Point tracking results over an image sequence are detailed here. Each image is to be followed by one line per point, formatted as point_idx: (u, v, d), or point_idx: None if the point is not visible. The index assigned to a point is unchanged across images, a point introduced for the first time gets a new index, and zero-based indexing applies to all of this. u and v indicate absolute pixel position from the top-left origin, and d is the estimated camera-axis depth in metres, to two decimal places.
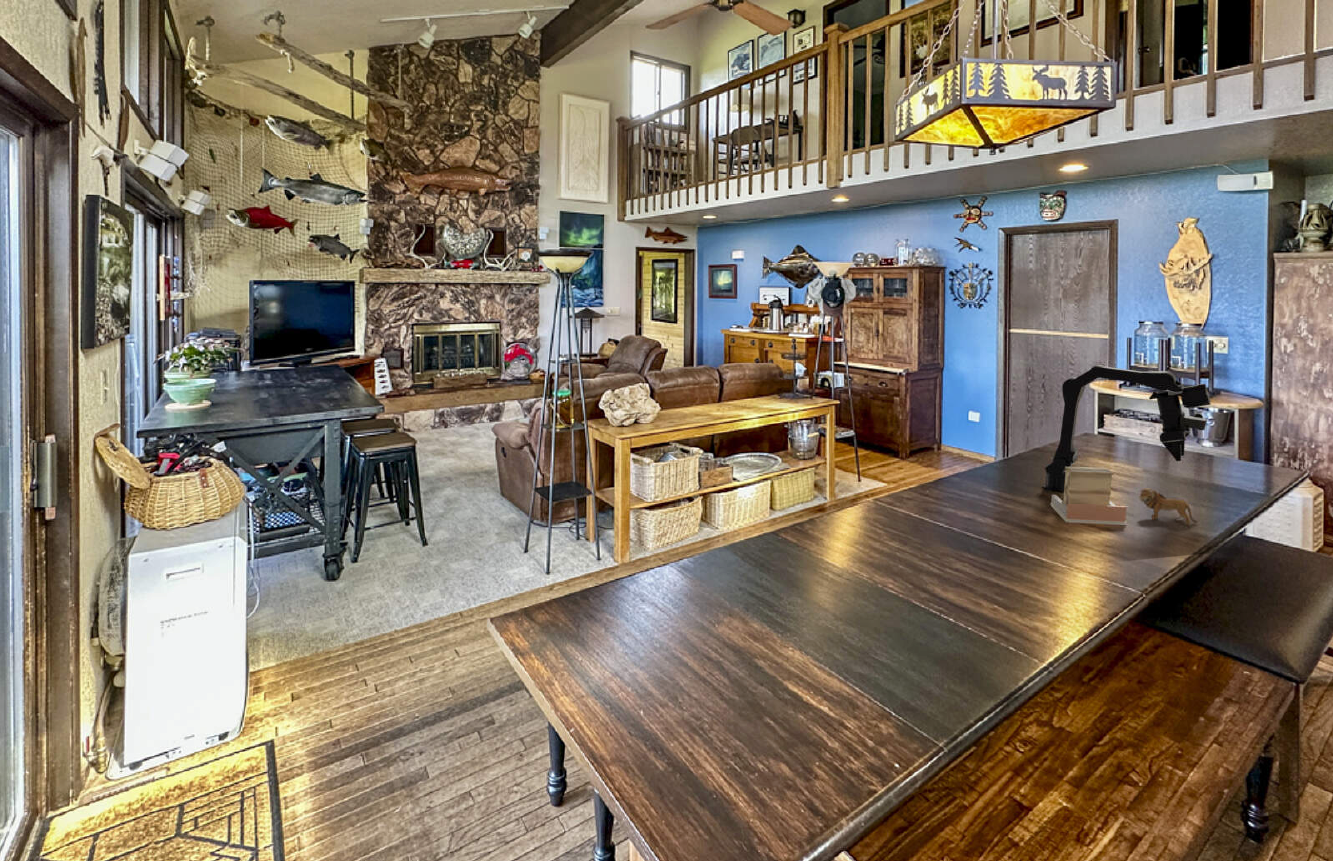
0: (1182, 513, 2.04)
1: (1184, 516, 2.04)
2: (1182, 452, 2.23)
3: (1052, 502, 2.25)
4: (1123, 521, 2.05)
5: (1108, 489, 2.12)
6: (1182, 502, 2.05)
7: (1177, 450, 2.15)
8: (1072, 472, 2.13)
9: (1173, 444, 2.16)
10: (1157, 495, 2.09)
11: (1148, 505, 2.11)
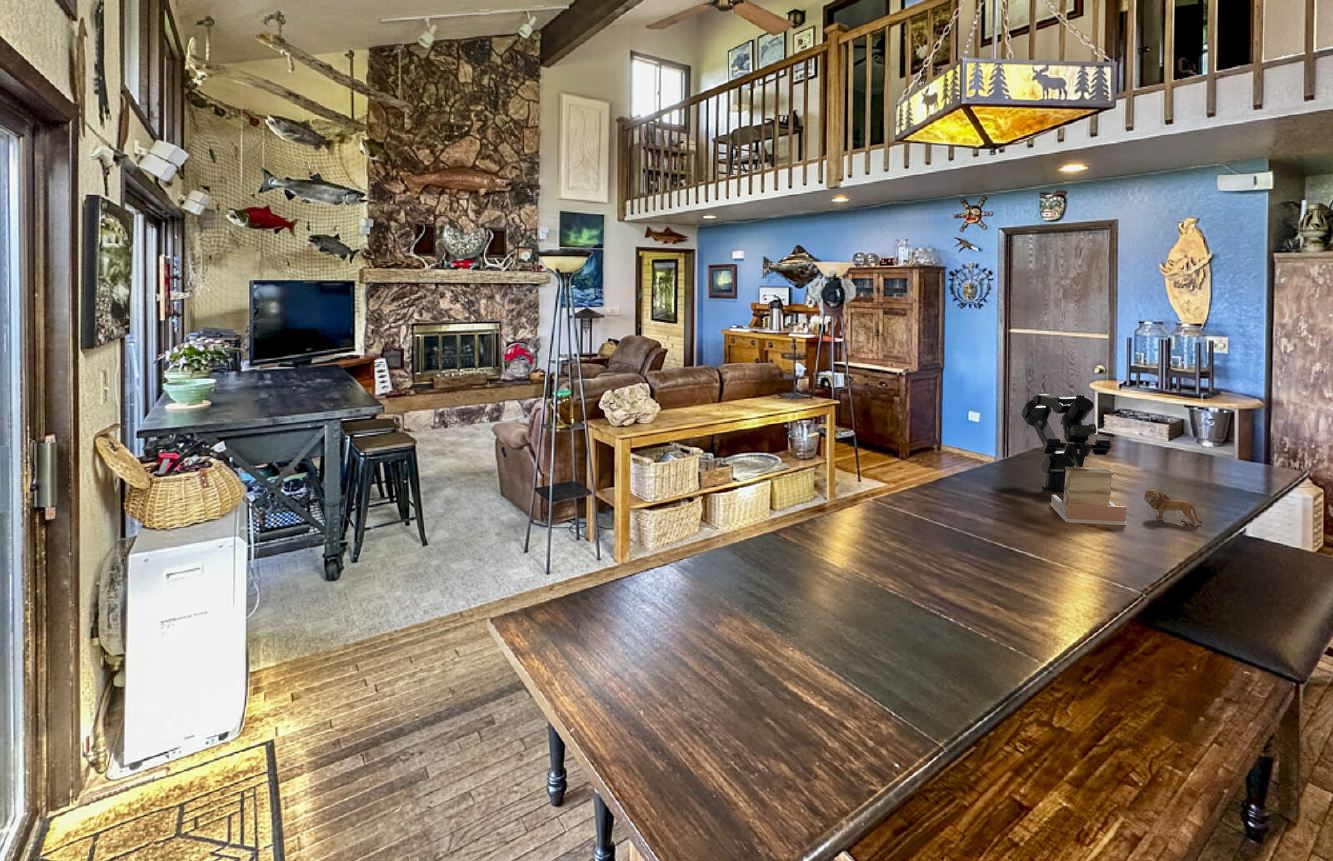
0: (1187, 514, 2.03)
1: (1189, 517, 2.03)
2: (1080, 465, 2.23)
3: (1052, 502, 2.25)
4: (1123, 521, 2.05)
5: (1108, 489, 2.12)
6: (1187, 503, 2.04)
7: (1074, 458, 2.24)
8: (1072, 472, 2.13)
9: (1072, 454, 2.26)
10: (1162, 496, 2.08)
11: (1153, 506, 2.10)
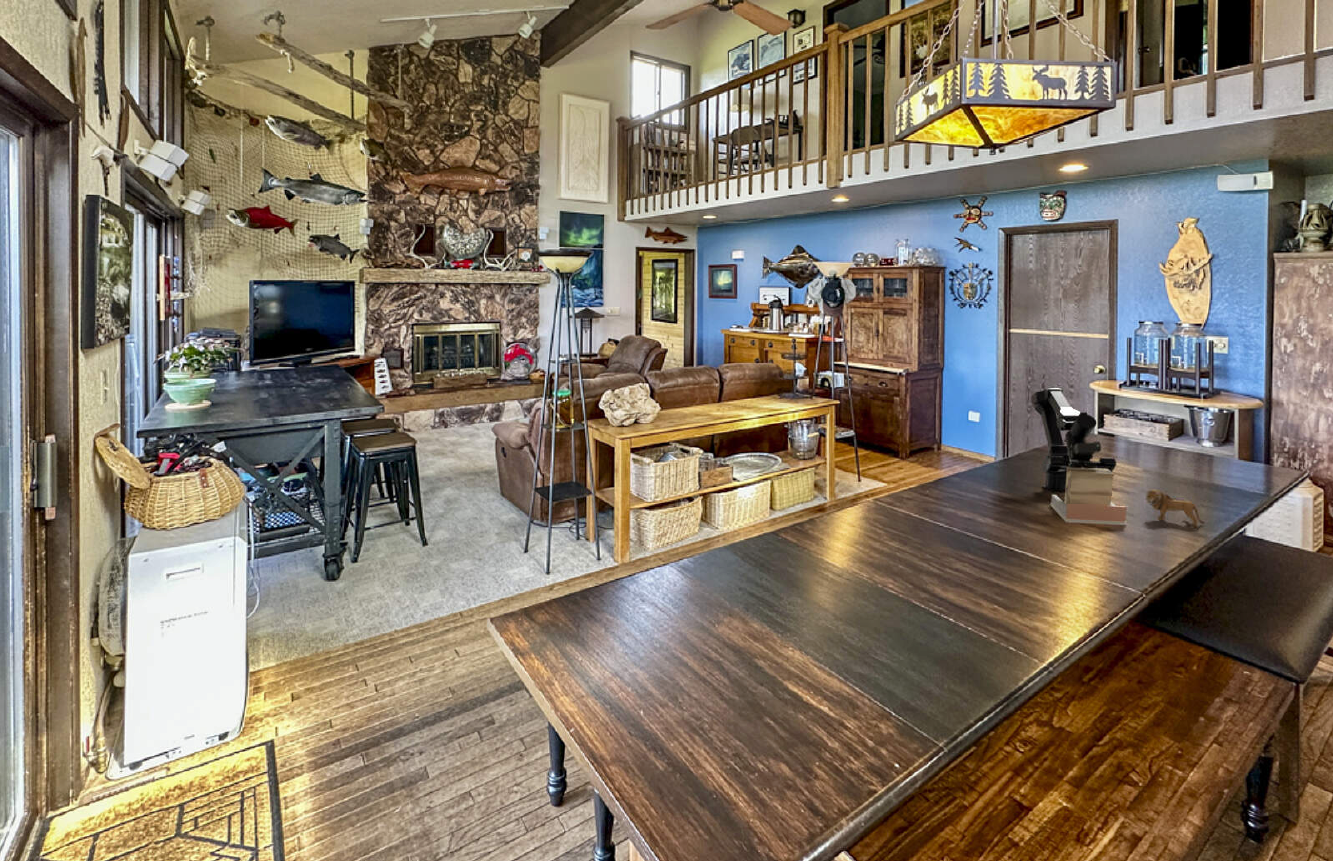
0: (1189, 514, 2.03)
1: (1191, 517, 2.03)
2: None
3: (1052, 502, 2.25)
4: (1123, 521, 2.05)
5: (1109, 490, 2.10)
6: (1189, 503, 2.03)
7: None
8: (1073, 473, 2.12)
9: None
10: (1164, 496, 2.08)
11: (1155, 506, 2.09)
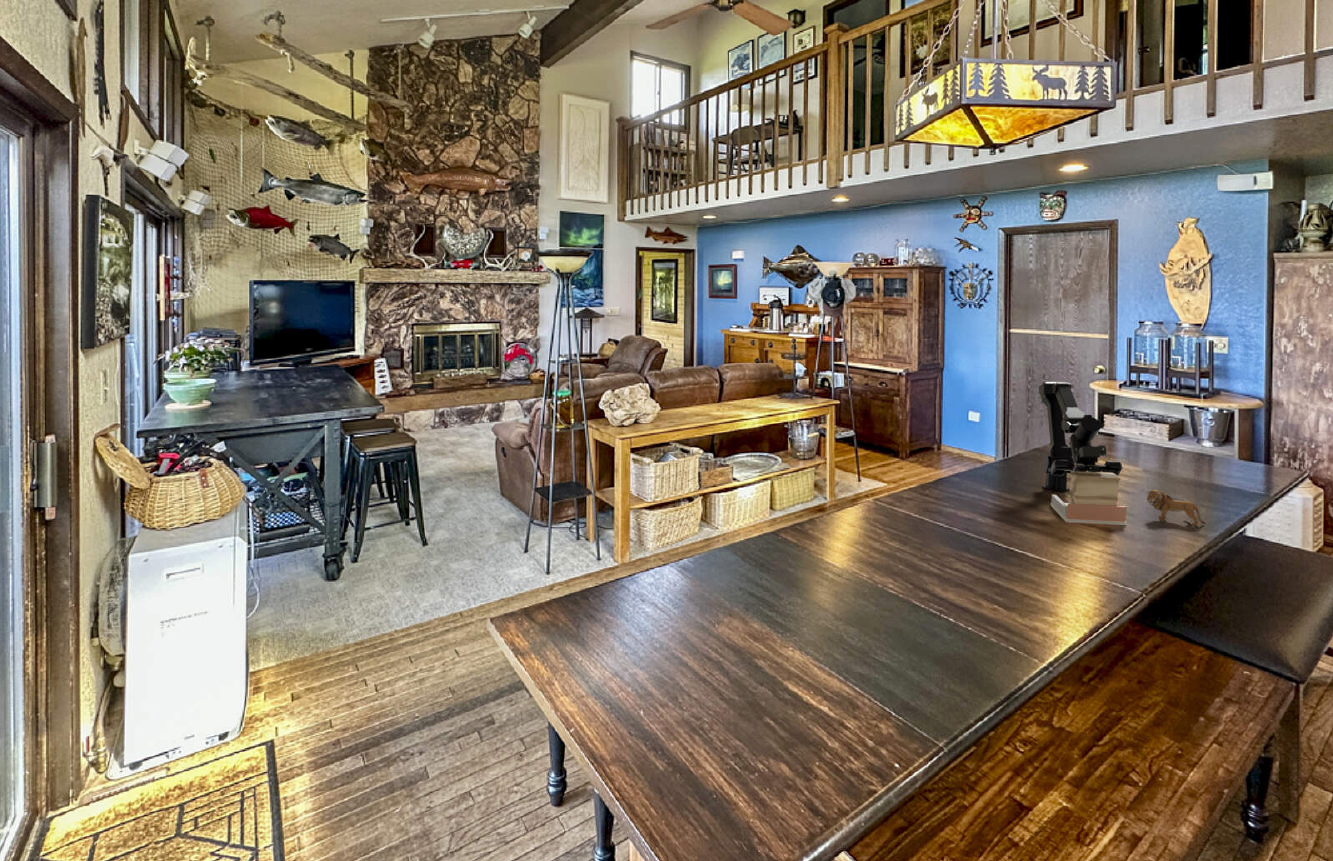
0: (1191, 514, 2.03)
1: (1192, 517, 2.03)
2: None
3: (1052, 502, 2.25)
4: (1123, 521, 2.05)
5: (1115, 494, 2.06)
6: (1190, 503, 2.03)
7: None
8: (1078, 477, 2.07)
9: None
10: (1165, 496, 2.08)
11: (1156, 507, 2.09)
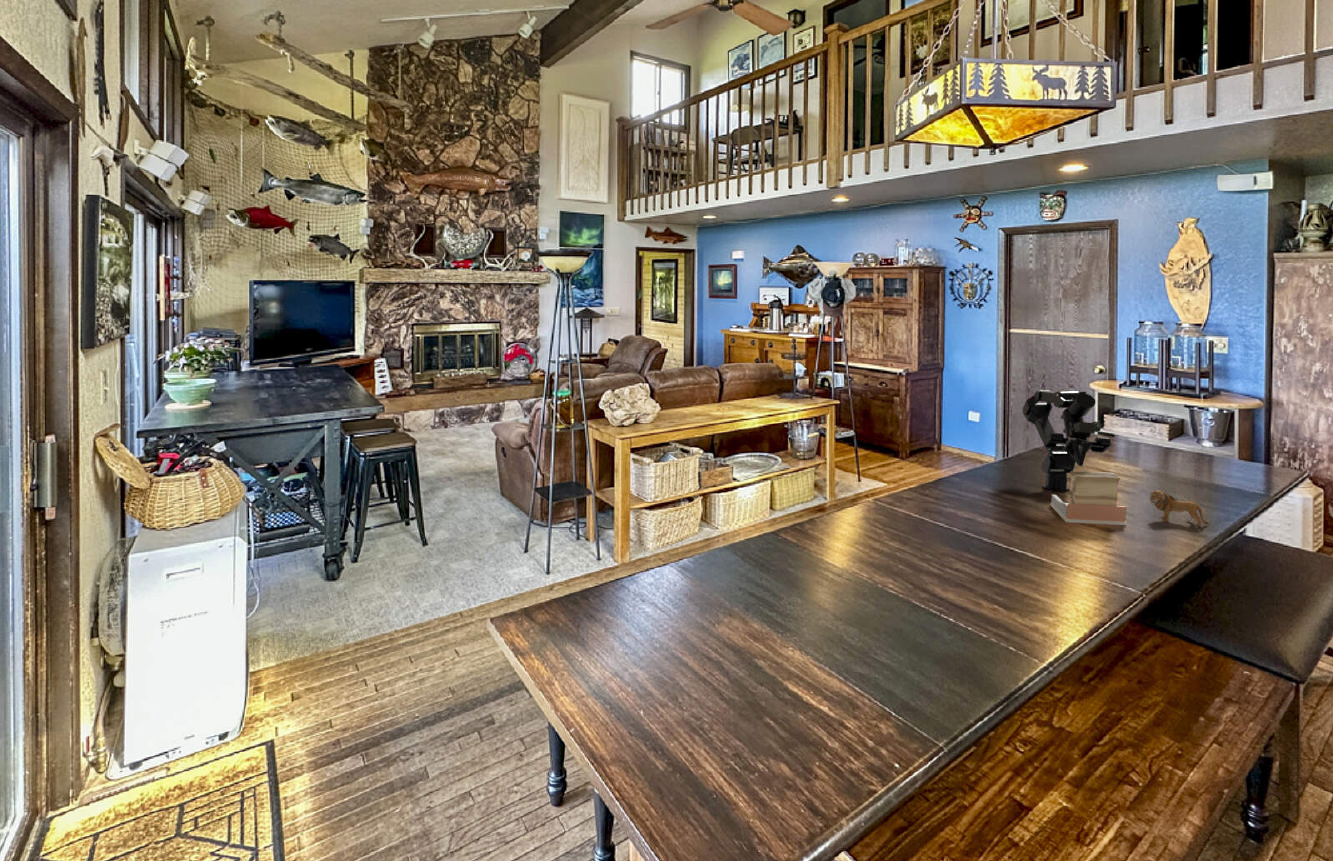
0: (1194, 515, 2.02)
1: (1195, 518, 2.02)
2: (1080, 462, 2.23)
3: (1052, 502, 2.25)
4: (1123, 521, 2.05)
5: (1115, 494, 2.06)
6: (1193, 504, 2.03)
7: (1075, 454, 2.24)
8: (1078, 477, 2.07)
9: (1073, 450, 2.26)
10: (1168, 497, 2.07)
11: (1158, 507, 2.08)
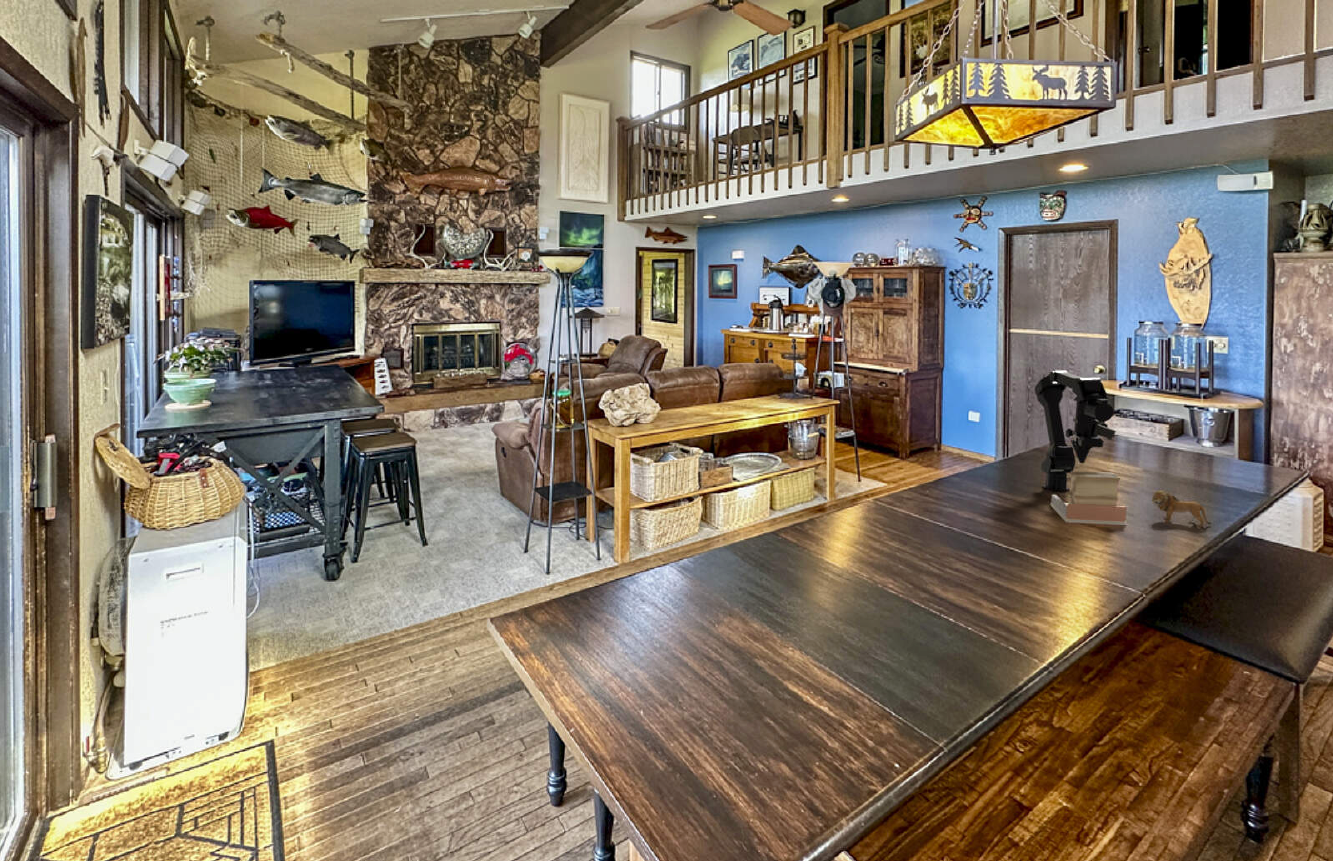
0: (1197, 515, 2.02)
1: (1198, 518, 2.02)
2: None
3: (1052, 502, 2.25)
4: (1123, 521, 2.05)
5: (1115, 494, 2.06)
6: (1196, 504, 2.02)
7: (1085, 453, 2.26)
8: (1078, 477, 2.07)
9: (1083, 447, 2.25)
10: (1170, 497, 2.06)
11: (1161, 508, 2.08)
